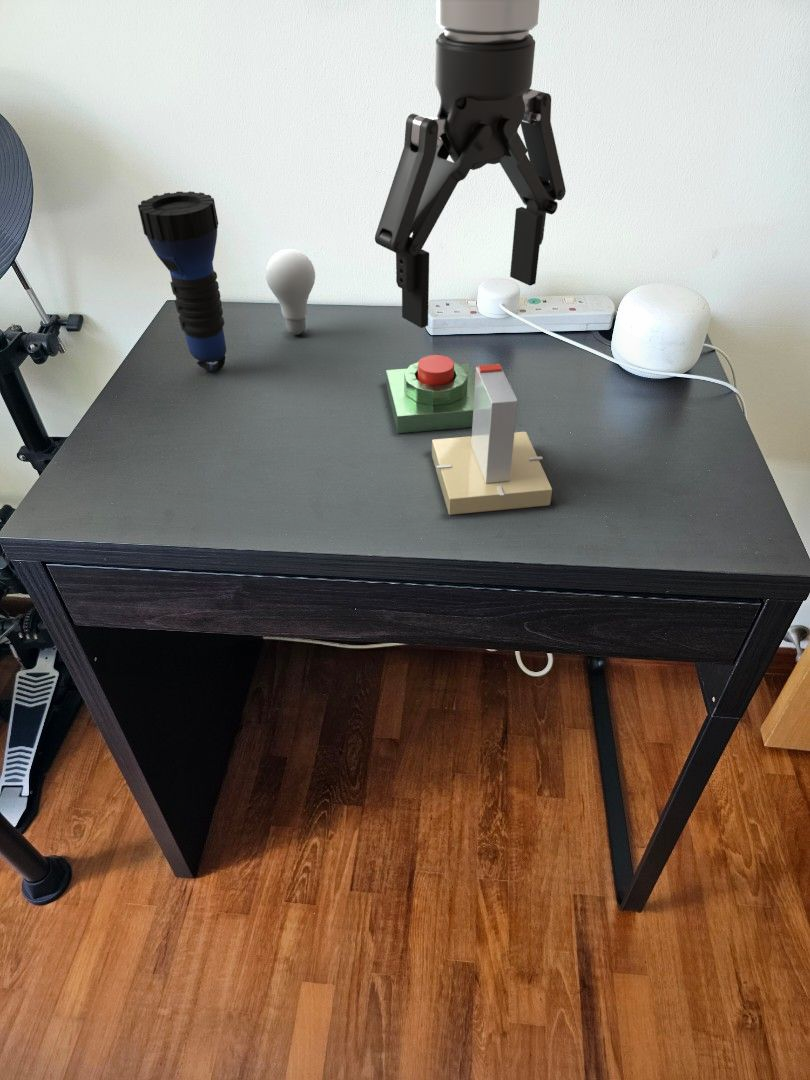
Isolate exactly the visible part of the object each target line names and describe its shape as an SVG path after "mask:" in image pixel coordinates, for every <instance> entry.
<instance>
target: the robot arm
mask: <svg viewBox="0 0 810 1080" xmlns="http://www.w3.org/2000/svg"><path fill="white" fill-rule="evenodd" d="M540 2H541V1H540V0H436V19H435V20H436V21H435V22H436V24H437V25H438V26H439V28H440V29H442V30H444V31H443V32H441V33H440V34H439V35H438V38H436V39H435V59H434V62H435V63H434V64H435V65H434V84H435V87H436V89H437V92H438V95H439V99H440V104H439V109H438V112H437V115H436V116H427V117H425V116H423V115H419V114H416V113H410V114H409V115H408V116H407V118H406V120H405V131H404V143H403V145H404V146H403V149H402V152H401V155H400V158H399V161H398V163H397V167H396V171H395V174H394V177H393V180H392V183H391V186H390V188H389V191H388V195H387V198H386V200H385V203H384V204H385V205H384V207H383V210H382V213H381V216H380V219H379V222H378V225H377V228H376V231H375V235H374V242H375V243H376V244H377V245H379V246H381V247H383V248H385V249H387V250H389V251H391V252H393V253H395V270H396V271H395V274H396V275H395V281H396V282H395V283H396V285H397V287H398V288H400V289H401V318H403V319H404V320H406V321H408V322H409V323H411V324H412V325H415V326H417V327H418V328H420V329H423V328H425V327H428V326H429V302H430V301H429V300H430V299H429V295H430V294H429V291H430V289H429V287H430V252H429V251H427V250H424V249H423V248H424V246H425V244H426V242H427V240H428V239H429V237H430V235H431V232H432V231H433V229H434V228H435V226H436V224H437V222H438V220H439V218H440V216H441V215H442V213H443V211H444V209H445V207H446V205H447V204H448V202H449V200H450V198H451V196H452V195H453V193H454V191H455V189H456V187H457V186H458V183H459V182H461V181H463V180H465V179H466V178H467V176H468V174H469V173H470V171H471V170H472V171H476V170H478V169H481V168H483V167H484V166H485V165H487V164H488V165H497V164H500V166H501V168H502V169H503V171H504V173H505V174H506V176H507V178H508V179H509V181H510V184H511V185H512V186H513V188H514V189H515V192H516V193H517V195H518V196H519V198H520V200H521V202H522V203H523V205H524V206H525V207H524V206H520V207H516V208H515V214H514V227H513V237H512V238H513V239H512V250H511V261H510V271H509V278H511V279H514V280H516V281H518V282H521V283H523V284H525V285H527V286H529V287H531V286H533V285H535V284H536V282H537V273H538V264H539V255H540V246H541V245H542V244H543V240H544V234H545V227H546V219H547V218H546V217H547V214H548V215H554V214H555V213H556V212H557V209H558V205H559V204H558V202H557V201H562V200H563V199H564V197H566V196H565V195H566V192H567V191H566V185H565V180H564V176H563V172H562V167H561V166H562V165H561V161H560V157H559V153H558V149H557V144H556V140H555V135H554V130H553V126H552V122H551V118H552V96H551V94H550V93H548V92H545V91H540V90H536V89H532V88H531V87H532V83H533V73H534V72H533V71H534V63H535V51H536V50H535V49H536V40H535V39H534V37H533V35H532V34H530V31H532V30H534V29H535V27H536V26H537V25H538V24H539V11H540ZM519 128H521V132H522V136H523V140H524V141H523V140H522V138H521V136H520V134H519V132H518V130H519ZM449 157H450V158H451V160H448V158H449ZM556 200H557V201H556Z"/></svg>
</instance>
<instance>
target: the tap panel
mask: <svg viewBox="0 0 810 1080" xmlns="http://www.w3.org/2000/svg"><path fill="white" fill-rule="evenodd" d="M471 441H472V435H471V436H469V435H468V436H461V437H460V436H456V437H446V438H435V439H434V438H433V439H431V457H432V460H433V461H432V462H433V464H434V468H435V472H436V475H437V478H438V481H439V485H440V489H441V492H442V495H443V499H444V503H445V506H446V510H447V513H448V515H449V516H452V515H462V514H472V513H473V514H474V513H483V512H484V513H485V512H493V511H494V512H495V511H504V510H516V509H526V508H535V507H546V506H551V501H552V495H553V488H552V486H551V483H550V481H549V479H548V477H547V475H546V472H545V470H544V468H543V466H542V463H541V462H540V460H542V461H543V459H544V458H543V456H542V455H540V456H538V455H537V453H536V450H535V449H534V446H533V444H532V442H531V439H530V438H529V435H528V433H527V431H515V433H514V443H513V453H512V463H511V472H510V481H504V482H494V483H485V480H484V477H483V475H482V472H481V470H480V467H479V464H478V462H477V459H476V456H475V454H474V451H473V448H472V446H471Z"/></svg>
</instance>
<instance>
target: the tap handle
mask: <svg viewBox="0 0 810 1080" xmlns="http://www.w3.org/2000/svg"><path fill="white" fill-rule="evenodd" d="M474 375H475V391H474V408H473V424H472V427H471V436H472V441H471V446H472V448H473V451H474V454H475V456H476V459H477V462H478V464H479V467H480V470H481V472H482V475H483V477H484V480H485V483H494V482H504V481H510V472H511V463H512V453H513V443H514V433H515V432H516V422H517V413H518V403H519V401H518V398H517V396H516V394H515V393H514V392H515V391H514V390H513V387H512V386H511V384H510V382H509V380H508V378H507V376H506V374H505V372H504V370H503V368H502V366H501V364H500V363H495V364H494V363H493V364H483V365H482V364H480V365H479V364H478V365H477V366H476V367H475V373H474Z"/></svg>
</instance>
